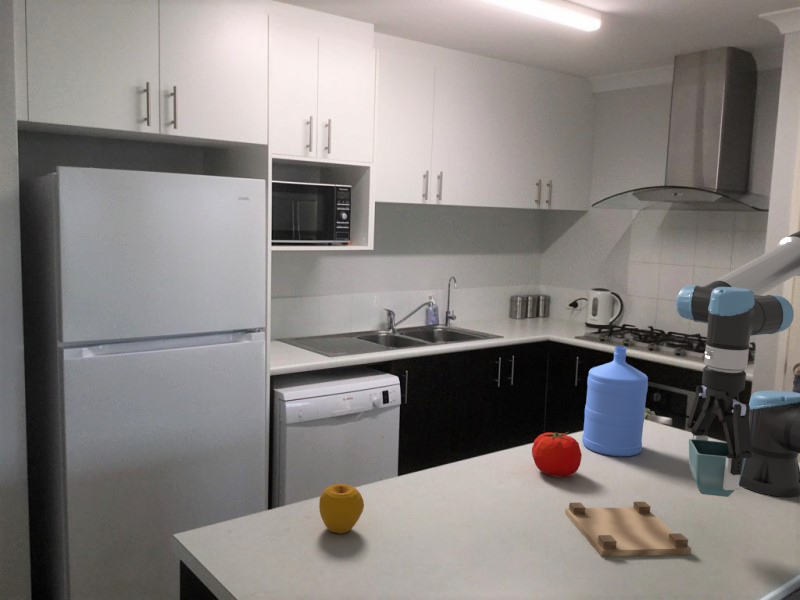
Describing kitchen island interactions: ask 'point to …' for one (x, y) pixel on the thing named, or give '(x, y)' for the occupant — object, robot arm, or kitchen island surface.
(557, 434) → the tomato
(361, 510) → the apple
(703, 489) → the flower pot
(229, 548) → the kitchen island surface
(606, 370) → the water jug
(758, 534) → the kitchen island surface
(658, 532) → the trivet
